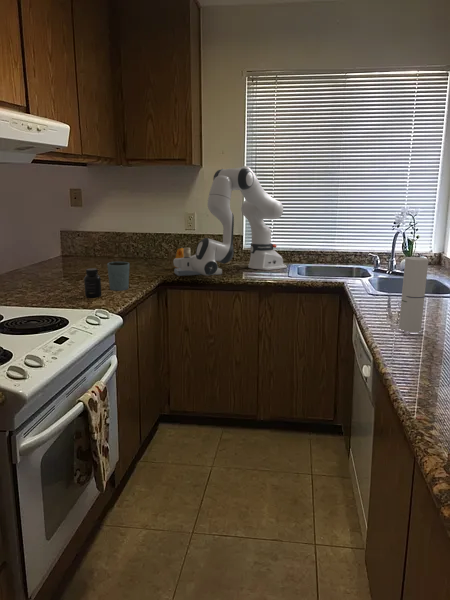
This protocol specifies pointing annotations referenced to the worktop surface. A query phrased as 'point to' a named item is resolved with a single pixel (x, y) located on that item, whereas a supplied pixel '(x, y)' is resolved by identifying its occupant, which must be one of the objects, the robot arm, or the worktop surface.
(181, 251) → the bracket
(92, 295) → the supplement bottle
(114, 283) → the blue cup
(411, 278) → the cylindrical container
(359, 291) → the worktop surface
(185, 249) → the dowel
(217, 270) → the tray
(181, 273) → the block
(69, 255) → the worktop surface
